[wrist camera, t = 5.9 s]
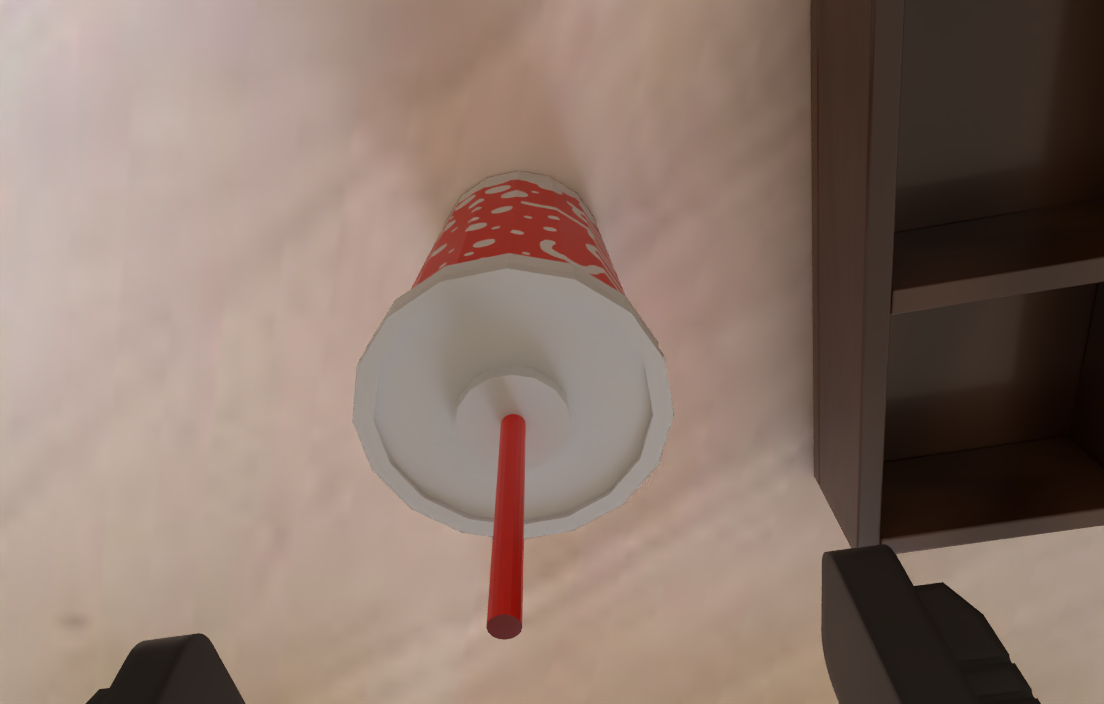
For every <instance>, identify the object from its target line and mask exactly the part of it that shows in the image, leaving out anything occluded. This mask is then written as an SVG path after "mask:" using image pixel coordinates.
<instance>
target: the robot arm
mask: <svg viewBox="0 0 1104 704" xmlns="http://www.w3.org/2000/svg"><path fill="white" fill-rule="evenodd" d="M821 632H822V645H823V651H824V657H825V661H826V665H827V670H828V673H829V677H830V680H831V683H832V686H833V688H834V691H835V694H836V696H837V699H838V701H839V704H1041V703H1040V702H1039V700H1038V698H1037V699H1035V698H1034V697H1033V695H1032V689H1031V688H1030V686H1029V685H1028V683H1027V682H1026V680H1025V678H1024V677H1023V675H1022V674H1021V672H1020V671H1019V669H1018V668H1017V666H1016V665H1015V663H1011V661H1010V658H1009V654H1008V652H1007V651H1006V649H1005V648H1004V646H1003V644H1002V643H1001V641H1000V640H999V638H998V637H997V635H996V634H995V632H994V631H993V629H992V627H991V626H990V624H989V623H988V621H987V620H986V618H985V617H984V615H983V614H982V613H981V612H979V611H978V610H977V609H976V608H974V607H973V606H972V605H971V604H969V603H968V602H967V601H966V600H964V599H963V598H962V597H961V596H959V595H958V594H957V593H956V592H954V591H953V590H952V589H951V588H949V587H948V586H947V585H946V584H944V583H943V582H942V583H934V584H927V585H919V586H913V584H912V582H911V580H910V579H909V577H908V575H907V573H906V572H905V570H904V568H903V566H902V565H901V563H900V561H899V559H898V558H897V556H896V554H895V553H894V551H893V550H892V549H891V548H890V547H889V546H888V545H886V544H881V545H874V546H866V547H859V548H851V549H844V550H836V551H829V552H825V553H824V554H823V557H822V626H821ZM86 704H245V702H244V700H243V698H242V696H241V695H240V693H239V691H238V689H237V687H236V686H235V684H234V682H233V680H232V678H231V677H230V675H229V673H228V671H227V669H226V668H225V666H224V664H223V662H222V660H221V659H220V657H219V655H218V653H217V651H216V650H215V648H214V646H213V644H212V643H211V641H210V640H209V638H208V637H206V636H205V635H203V634H199V633H198V634H191V635H183V636H176V637H168V638H161V639H153V640H146V641H142V642H140V643H138V644H137V645H136V646H135V647H134V648H133V649H132V650H131V652H130V653H129V655H128V656H127V658H126V660H125V662H124V663H123V665H122V667H121V669H120V670H119V672H118V674H117V676H116V678H115V679H114V681H113V683H112V685H111V686H110V688H106V689H99V690H98V691H97V692H96V693H95V694H94V696H93V697H92V698H91V699H90V700H89V701H88V702H87V703H86Z"/></svg>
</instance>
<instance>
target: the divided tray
mask: <svg viewBox="0 0 1104 704" xmlns="http://www.w3.org/2000/svg"><path fill="white" fill-rule="evenodd" d="M811 121H812V261H813V400H814V477H815V479H816V481H817V483H818V484H819V486H820V488H821V490H822V492H823V494H824V496H825V498H826V500H827V502H828V504H829V506H830V508H831V509H832V511H833V513H834V515H835V517H836V519H837V521H838V523H839V525H840V527H841V529H842V531H843V533H844V535H845V537H846V539H847V540H848V542H849V544H850V546H851V548H859V547H866V546H874V545H881V544H886V545H888V546H889V547H890V548H891V549H892V550H893V551H894V553H895V554H899V553H906V552H914V551H921V550H928V549H935V548H943V547H950V546H957V545H964V544H971V543H979V542H986V541H993V540H1000V539H1008V538H1015V537H1022V536H1029V535H1037V534H1044V533H1051V532H1058V531H1066V530H1073V529H1080V528H1087V527H1094V526H1102V525H1104V0H811Z"/></svg>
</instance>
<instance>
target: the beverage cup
mask: <svg viewBox="0 0 1104 704" xmlns="http://www.w3.org/2000/svg"><path fill="white" fill-rule="evenodd" d="M673 416H674V412H673V406H672V399H671V393H670V387H669V381H668V374H667V368H666V362H665V358H664V355H663V353H662V352H661V350H660V349H659V346H658V341H657V340H656V338H655V337H654V336H653V334H652V333H651V331H650V330H649V328H648V327H647V326H646V324H645V323H644V321H643V320H642V318H641V317H640V316H639V314H638V313H637V311H636V310H635V308H634V307H633V306H632V304H631V303H630V301H629V300H628V299H627V297H626V296H625V293H624V291H623V289H622V286H621V284H620V281H619V279H618V276H617V274H616V271H615V269H614V267H613V264H612V262H611V259H610V257H609V254H608V252H607V249H606V247H605V244H604V242H603V240H602V237H601V235H600V232H599V230H598V227H597V225H596V222H595V220H594V218H593V217H592V215H591V214H590V212H589V211H588V209H587V208H586V206H585V205H584V203H583V202H582V201H581V199H580V198H579V196H578V195H577V193H575V192H573V191H572V190H570V189H569V188H567V187H566V186H564V185H562V184H561V183H559V182H558V181H556V180H555V179H553V178H551V177H549V176H543V175H538V174H532V173H527V172H521V171H517V172H512V173H507V174H503V175H498V176H493V177H489V178H486V179H485V180H483V181H482V182H481V183H479V184H478V185H476V186H475V187H473V188H472V189H471V190H469V191H468V192H466V193H465V194H463V195H462V196H461V198H460V199H459V201H458V203H457V204H456V206H455V208H454V209H453V211H452V213H451V214H450V216H449V217H448V219H447V221H446V223H445V225H444V226H443V228H442V230H441V232H440V234H439V236H438V238H437V240H436V242H435V244H434V246H433V248H432V250H431V252H430V253H429V255H428V257H427V259H426V261H425V263H424V265H423V267H422V269H421V271H420V273H419V275H418V277H417V279H416V280H415V282H414V284H413V286H412V288H411V290H409V291H408V292H406V293H405V294H403V295H402V296H400V297H399V298H397V299H396V300H395V301H394V303H393V304H392V306H391V308H390V309H389V311H388V313H387V314H386V316H385V318H384V319H383V321H382V323H381V324H380V326H379V327H378V329H377V331H376V332H375V334H374V336H373V337H372V339H371V341H370V342H369V344H368V346H367V347H366V350H365V352H364V353H363V355H362V357H361V358H360V360H359V363H358V365H357V368H356V381H355V394H354V407H353V420H352V421H353V424H354V426H355V429H356V431H357V434H358V436H359V439H360V441H361V443H362V446H363V448H364V451H365V453H366V456H367V458H368V461H369V463H370V466H371V468H372V471H373V472H374V473H375V474H376V475H377V476H378V477H379V478H380V479H381V480H382V481H383V482H384V483H385V484H386V485H387V486H388V487H389V488H390V489H391V490H393V491H394V492H395V493H396V494H397V495H398V496H399V497H400V498H401V499H402V500H403V501H404V502H405V503H406V504H407V505H408V506H409V507H410V508H411V509H412V510H414V511H416V512H419V513H421V514H423V515H425V516H427V517H429V518H431V519H434V520H436V521H438V522H440V523H442V524H444V525H446V526H448V527H451V528H453V529H455V530H457V531H459V532H461V533H467V534H475V535H483V536H490V537H493V542H492V556H491V570H490V585H489V599H488V613H487V630H488V632H489V633H490V634H491V635H492V636H493V637H495V638H498V639H511V638H513V637H515V636H517V635H518V634H519V633H520V632H521V629H522V603H523V550H524V539H528V538H534V537H540V536H545V535H551V534H557V533H563V532H568V531H574V530H576V529H578V528H580V527H582V526H584V525H586V524H588V523H589V522H591V521H593V520H595V519H597V518H599V517H601V516H603V515H604V514H606V513H608V512H610V511H612V510H614V509H616V508H617V507H619V506H621V505H623V504H624V503H625V502H626V501H627V500H628V498H629V497H630V496H631V495H632V494H633V493H634V492H635V490H636V489H637V488H638V487H639V486H640V485H641V484H642V483H643V481H644V480H645V479H646V478H647V477H648V476H649V475H650V473H651V472H652V471H653V470H654V469H655V468H656V467H657V465H658V464H659V461H660V458H661V454H662V451H663V448H664V445H665V442H666V438H667V435H668V432H669V429H670V426H671V422H672V419H673Z"/></svg>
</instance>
